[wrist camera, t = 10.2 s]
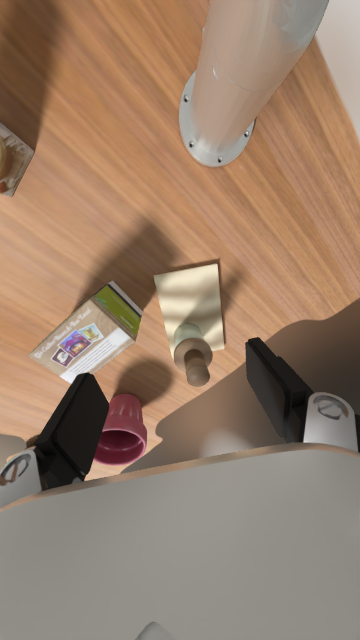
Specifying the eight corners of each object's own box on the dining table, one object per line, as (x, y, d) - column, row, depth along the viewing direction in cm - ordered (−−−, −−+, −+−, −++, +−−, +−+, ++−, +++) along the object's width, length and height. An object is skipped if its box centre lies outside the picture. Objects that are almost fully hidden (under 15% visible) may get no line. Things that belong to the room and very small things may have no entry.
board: (153, 275, 40) (153, 276, 39) (215, 263, 40) (217, 264, 39) (172, 356, 49) (172, 358, 48) (222, 346, 49) (224, 348, 48)
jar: (170, 325, 44) (172, 343, 36) (199, 320, 44) (207, 336, 36) (176, 350, 47) (178, 370, 39) (203, 345, 47) (210, 364, 39)
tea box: (100, 346, 46) (75, 390, 32) (67, 319, 42) (22, 355, 29) (144, 310, 43) (136, 343, 30) (113, 278, 39) (86, 297, 26)
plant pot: (155, 392, 54) (153, 434, 42) (142, 423, 58) (137, 469, 47) (106, 381, 50) (89, 424, 39) (97, 415, 55) (79, 462, 44)
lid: (170, 341, 36) (171, 364, 30) (209, 334, 36) (219, 354, 30) (177, 372, 40) (179, 398, 33) (212, 365, 40) (222, 390, 33)
